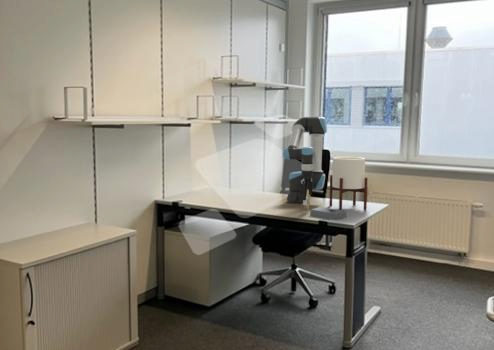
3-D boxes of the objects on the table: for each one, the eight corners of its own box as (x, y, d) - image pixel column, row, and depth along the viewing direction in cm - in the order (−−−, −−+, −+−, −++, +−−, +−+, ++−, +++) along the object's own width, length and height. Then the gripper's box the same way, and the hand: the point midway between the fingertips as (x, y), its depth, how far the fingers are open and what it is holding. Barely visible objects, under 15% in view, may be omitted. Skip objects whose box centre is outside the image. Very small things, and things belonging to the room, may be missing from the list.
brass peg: (303, 210, 329) (303, 189, 328) (305, 209, 332) (306, 189, 330) (307, 210, 327) (307, 190, 326) (309, 209, 330) (309, 189, 328)
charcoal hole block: (310, 215, 320) (310, 209, 320) (320, 212, 329) (320, 207, 329) (337, 219, 308) (337, 213, 307) (346, 216, 317) (346, 210, 316)
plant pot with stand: (369, 210, 340) (370, 159, 335) (338, 211, 335) (340, 159, 331) (355, 204, 361) (357, 156, 357) (327, 205, 357) (328, 156, 352)
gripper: (305, 171, 317) (304, 207, 321) (318, 169, 329) (317, 203, 333) (295, 170, 322) (295, 205, 325) (309, 168, 334) (308, 202, 337)
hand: (306, 204), depth 329 cm, fingers closed on brass peg, 3 cm apart
